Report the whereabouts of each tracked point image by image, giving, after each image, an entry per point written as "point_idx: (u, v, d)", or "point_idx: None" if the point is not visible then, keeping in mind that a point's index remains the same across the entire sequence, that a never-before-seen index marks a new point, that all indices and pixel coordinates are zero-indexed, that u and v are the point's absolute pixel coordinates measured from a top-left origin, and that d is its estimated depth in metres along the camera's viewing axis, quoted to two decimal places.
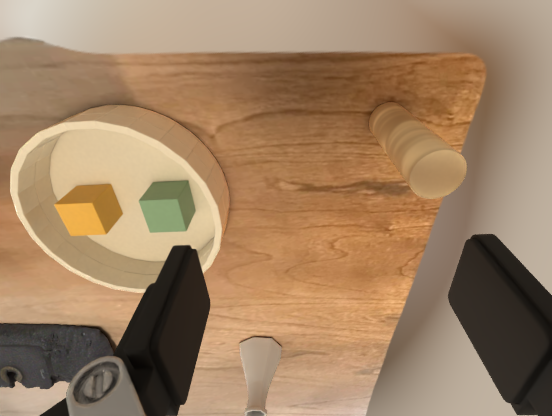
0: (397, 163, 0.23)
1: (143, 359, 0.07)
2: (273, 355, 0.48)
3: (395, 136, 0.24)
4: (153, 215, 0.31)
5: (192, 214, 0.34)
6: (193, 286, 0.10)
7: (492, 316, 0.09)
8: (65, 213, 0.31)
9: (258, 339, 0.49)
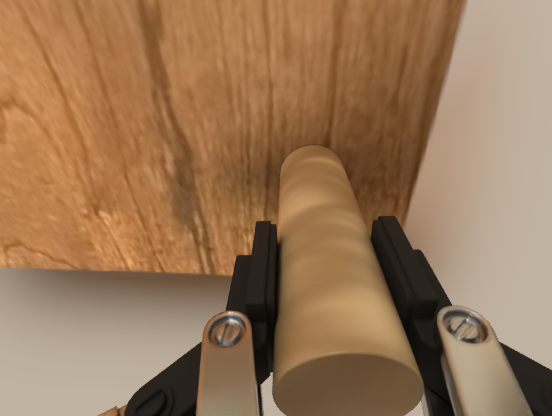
0: (326, 266, 0.09)
1: (259, 314, 0.08)
2: None
3: (356, 227, 0.11)
4: None
5: None
6: (276, 258, 0.11)
7: None
8: None
9: None
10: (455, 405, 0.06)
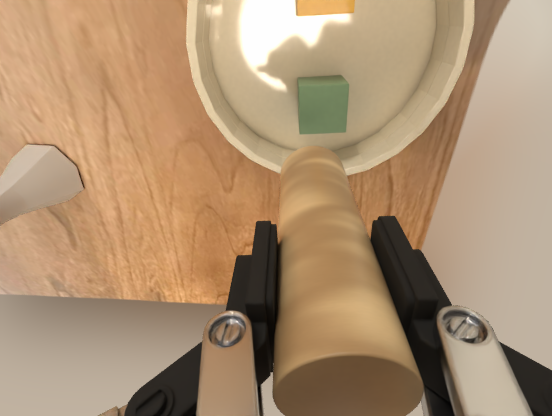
0: (326, 267, 0.09)
1: (259, 314, 0.08)
2: (60, 200, 0.34)
3: (357, 229, 0.11)
4: (325, 98, 0.25)
5: None
6: (276, 258, 0.11)
7: None
8: None
9: (76, 174, 0.34)
10: (455, 405, 0.06)
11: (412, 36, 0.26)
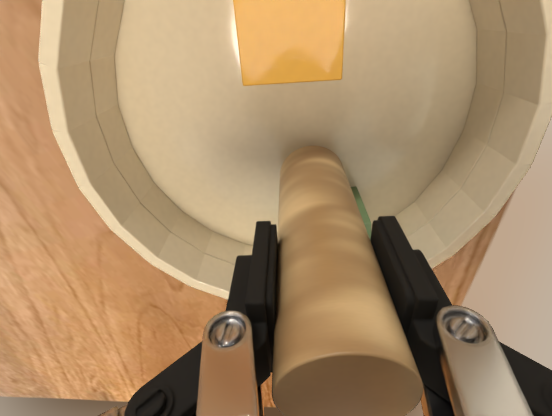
0: (325, 267, 0.09)
1: (259, 314, 0.08)
2: None
3: (356, 228, 0.11)
4: None
5: None
6: None
7: None
8: None
9: None
10: (455, 405, 0.06)
11: (436, 99, 0.16)
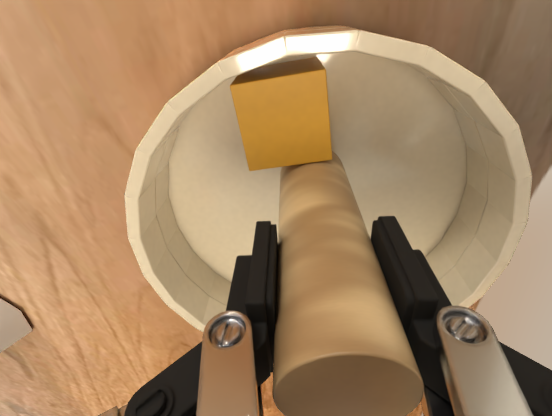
0: (326, 267, 0.09)
1: (259, 314, 0.08)
2: None
3: (357, 228, 0.11)
4: None
5: None
6: (276, 258, 0.11)
7: None
8: (300, 93, 0.13)
9: (20, 319, 0.28)
10: (455, 405, 0.06)
11: (434, 192, 0.20)
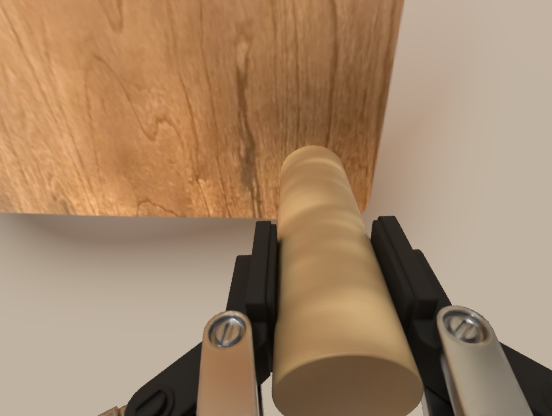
0: (326, 267, 0.09)
1: (259, 314, 0.08)
2: None
3: (356, 228, 0.11)
4: None
5: None
6: None
7: None
8: None
9: None
10: (455, 405, 0.06)
11: None
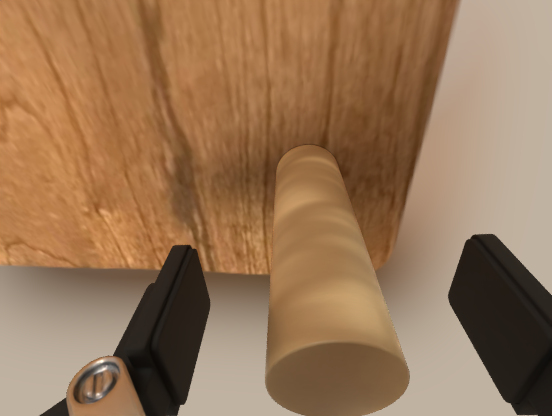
0: (317, 261, 0.09)
1: (143, 359, 0.07)
2: None
3: (348, 224, 0.11)
4: None
5: None
6: (193, 286, 0.10)
7: (492, 316, 0.09)
8: None
9: None
10: None
11: None
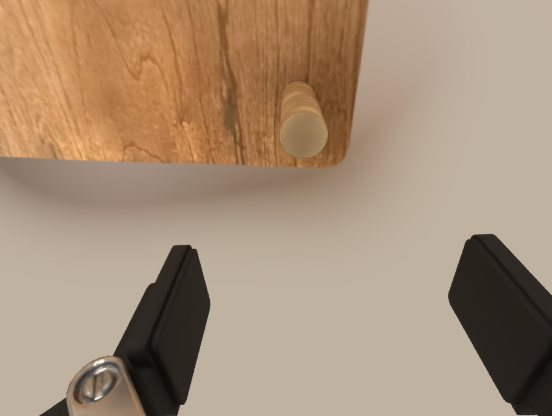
0: (298, 103, 0.24)
1: (143, 359, 0.07)
2: None
3: (313, 100, 0.26)
4: None
5: None
6: (193, 286, 0.10)
7: (492, 316, 0.09)
8: None
9: None
10: None
11: None
